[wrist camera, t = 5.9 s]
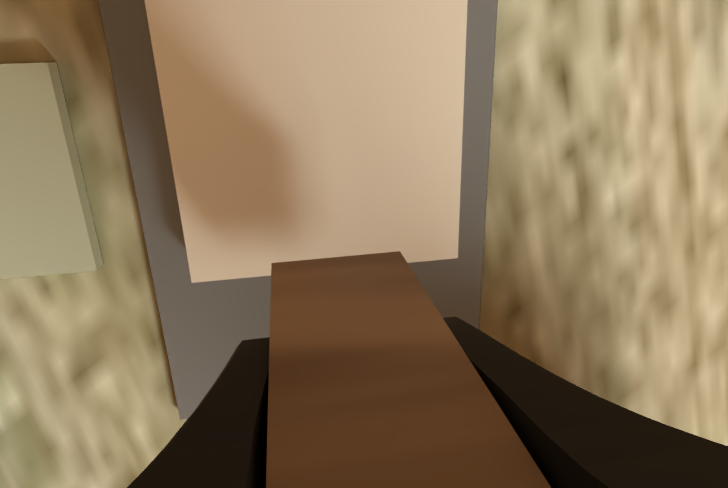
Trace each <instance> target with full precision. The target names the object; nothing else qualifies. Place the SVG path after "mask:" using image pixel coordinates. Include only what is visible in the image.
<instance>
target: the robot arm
mask: <svg viewBox="0 0 728 488" xmlns="http://www.w3.org/2000/svg"><path fill="white" fill-rule="evenodd" d="M443 319H444V321H445V322H446V324H447V326H448V327H449V329H450V330H451V332H452V333H453V335H454V336H455V338H456V340H457V341H458V343H459V344H460V346H461V347H462V349H463V351H464V352H465V354H466V355H467V357H468V358H469V360H470V362H471V363H472V365H473V366H474V368H475V369H476V371H477V372H478V374H479V376H480V377H481V379H482V380H483V382H484V383H485V385H486V387H487V388H488V390H489V391H490V393H491V394H492V396H493V397H494V399H495V401H496V402H497V404H498V405H499V407H500V408H501V410H502V412H503V413H504V415H505V416H506V418H507V419H508V421H509V423H510V424H511V426H512V427H513V429H514V430H515V432H516V433H517V435H518V437H519V438H520V440H521V441H522V443H523V444H524V446H525V448H526V449H527V451H528V452H529V454H530V455H531V457H532V458H533V460H534V462H535V463H536V465H537V466H538V468H539V469H540V471H541V473H542V474H543V476H544V477H545V479H546V480H547V482H548V484H549V485H550V487H551V488H728V446H725V445H722V444H719V443H716V442H713V441H710V440H707V439H704V438H701V437H699V436H696V435H693V434H690V433H687V432H684V431H682V430H679V429H676V428H673V427H670V426H667V425H665V424H662V423H660V422H657V421H655V420H652V419H649V418H647V417H644V416H642V415H639V414H637V413H635V412H632V411H630V410H628V409H626V408H623V407H621V406H619V405H616V404H614V403H612V402H609V401H607V400H605V399H603V398H600V397H598V396H596V395H594V394H592V393H590V392H588V391H586V390H584V389H582V388H580V387H578V386H576V385H574V384H572V383H570V382H568V381H566V380H564V379H562V378H560V377H558V376H557V375H555V374H553V373H551V372H549V371H547V370H545V369H544V368H542V367H540V366H538V365H536V364H535V363H533V362H531V361H529V360H528V359H526V358H524V357H523V356H521V355H519V354H518V353H516V352H514V351H513V350H511V349H509V348H508V347H506V346H504V345H503V344H501V343H499V342H498V341H496V340H495V339H493V338H491V337H490V336H488V335H486V334H485V333H483V332H482V331H480V330H478V329H477V328H475V327H473V326H472V325H470V324H468V323H467V322H465V321H463V320H461V319H459V318H457V317H446V318H443ZM269 344H270V337H267V338H258V339H249V340H242V342H241V343H240V344H239V345H238V346H237V348H236V349H235V351H234V353H233V354H232V356H231V358H230V359H229V361H228V363H227V364H226V366H225V367H224V369H223V371H222V372H221V374H220V375H219V377H218V378H217V380H216V381H215V383H214V384H213V386H212V387H211V388H210V390H209V391H208V393H207V394H206V395H205V397H204V398H203V400H202V401H201V402H200V404H199V405H198V407H197V408H196V409H195V411H194V412H193V413H192V415H191V416H190V417H189V418H188V419H187V421H186V422H185V423H184V424H183V426H182V427H181V428H180V429H179V431H178V432H177V433H176V434H175V436H174V437H173V438H172V439H171V440H170V442H169V443H168V444H167V445H166V446H165V448H164V449H163V450H162V451H161V452H160V453H159V454H158V456H157V457H156V458H155V459H154V460H153V461H152V462H151V463H150V464H149V465H148V467H147V468H146V469H145V470H144V471H143V472H142V473H141V474H140V475H139V476H138V477H137V478H136V479H135V480H134V481H133V482H132V483H131V484H130V485H129V486H128V487H127V488H266V467H267V426H268V385H269Z"/></svg>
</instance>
